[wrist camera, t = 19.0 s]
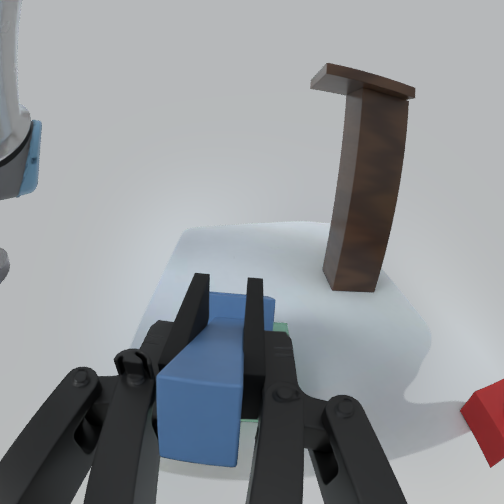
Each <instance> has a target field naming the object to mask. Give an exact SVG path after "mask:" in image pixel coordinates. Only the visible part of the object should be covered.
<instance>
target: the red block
mask: <svg viewBox="0 0 504 504" xmlns="http://www.w3.org/2000/svg"><path fill="white" fill-rule="evenodd" d="M460 411H461V413H462V415H463V417H464V418H465V420H466V422H467V424H468V425H469V427H470V429H471V431H472V433H473V435H474V436H475V438H476V440H477V442H478V444H479V446H480V448H481V450H482V451H483V454H484V456H485V458H486V460H487V462H488V464H489V466H490V468H491V467H492V466H494V465H495V464H497V463H498V462H499V461H501V460H502V459H503V458H504V379H502V380H500V381H498V382H496V383H494V384H492V385H490V386H487V387H485V388H482V389H480V390H478V391H475V392H474V393H473V395H472V396H471V397H470V399H469V400H468V401H467V402H466V404H465V405H464V406H463V407H462V409H461V410H460Z"/></svg>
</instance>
